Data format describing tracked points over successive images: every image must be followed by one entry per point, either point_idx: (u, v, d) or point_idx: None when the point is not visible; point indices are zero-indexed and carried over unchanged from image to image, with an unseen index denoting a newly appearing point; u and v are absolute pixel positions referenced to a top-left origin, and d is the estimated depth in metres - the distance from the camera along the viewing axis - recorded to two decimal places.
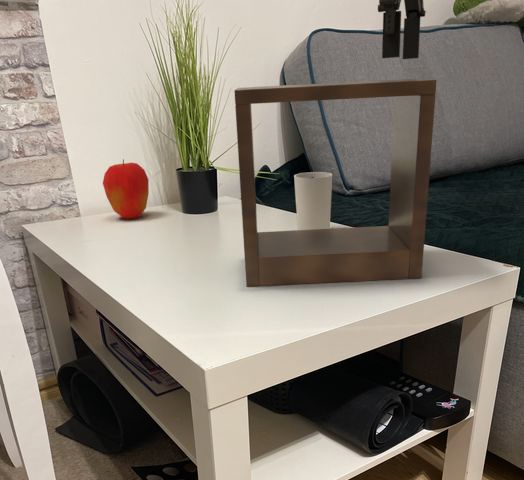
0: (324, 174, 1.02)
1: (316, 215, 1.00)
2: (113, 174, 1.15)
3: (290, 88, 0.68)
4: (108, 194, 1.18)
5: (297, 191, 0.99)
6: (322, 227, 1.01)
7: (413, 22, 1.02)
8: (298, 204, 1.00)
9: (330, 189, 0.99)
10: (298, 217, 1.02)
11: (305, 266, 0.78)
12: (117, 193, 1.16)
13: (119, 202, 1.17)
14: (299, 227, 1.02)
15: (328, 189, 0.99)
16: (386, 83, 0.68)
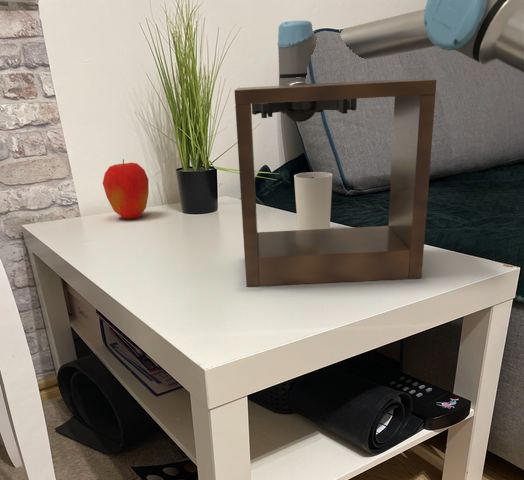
0: (324, 174, 1.02)
1: (316, 215, 1.00)
2: (113, 174, 1.15)
3: (290, 88, 0.68)
4: (108, 194, 1.18)
5: (297, 191, 0.99)
6: (322, 227, 1.01)
7: (338, 102, 1.09)
8: (298, 204, 1.00)
9: (330, 189, 0.99)
10: (298, 217, 1.02)
11: (305, 266, 0.78)
12: (117, 193, 1.16)
13: (119, 202, 1.17)
14: (299, 227, 1.02)
15: (328, 189, 0.99)
16: (386, 83, 0.68)
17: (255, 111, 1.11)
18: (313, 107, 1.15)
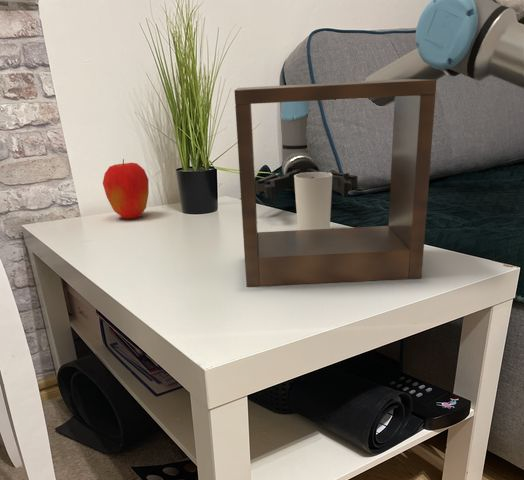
0: (324, 174, 1.02)
1: (316, 215, 1.00)
2: (113, 174, 1.15)
3: (290, 88, 0.68)
4: (108, 194, 1.18)
5: (297, 191, 0.99)
6: (322, 227, 1.01)
7: (340, 183, 1.12)
8: (298, 204, 1.00)
9: (330, 189, 0.99)
10: (298, 217, 1.02)
11: (305, 266, 0.78)
12: (117, 193, 1.16)
13: (119, 202, 1.17)
14: (299, 227, 1.02)
15: (328, 189, 0.99)
16: (386, 83, 0.68)
17: (259, 191, 1.14)
18: None
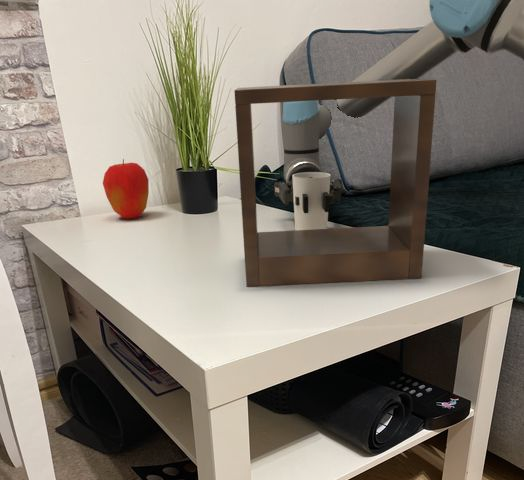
0: (323, 175, 1.02)
1: (312, 215, 1.00)
2: (113, 174, 1.15)
3: (290, 88, 0.68)
4: (108, 194, 1.18)
5: (294, 191, 1.00)
6: (319, 227, 1.01)
7: None
8: None
9: (328, 190, 0.99)
10: (295, 217, 1.02)
11: (305, 266, 0.78)
12: (117, 193, 1.16)
13: (119, 202, 1.17)
14: (296, 227, 1.02)
15: (325, 189, 0.99)
16: (386, 83, 0.68)
17: (289, 201, 1.03)
18: None
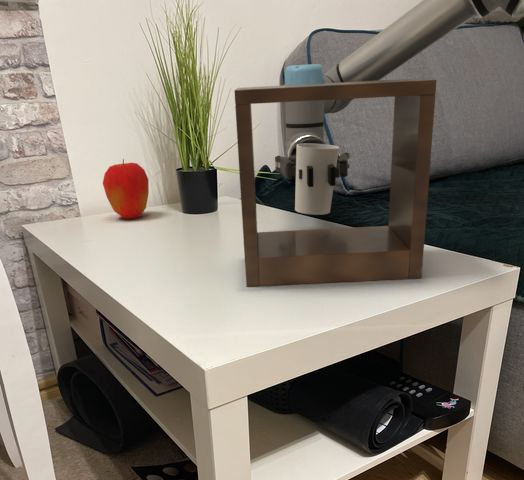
0: (331, 148, 0.91)
1: (315, 191, 0.89)
2: (113, 174, 1.15)
3: (290, 88, 0.68)
4: (108, 194, 1.18)
5: (297, 162, 0.89)
6: (321, 205, 0.91)
7: None
8: (297, 177, 0.90)
9: (334, 164, 0.89)
10: (296, 191, 0.92)
11: (305, 266, 0.78)
12: (117, 193, 1.16)
13: (119, 202, 1.17)
14: (296, 203, 0.92)
15: (332, 163, 0.88)
16: (386, 83, 0.68)
17: (292, 175, 0.93)
18: None
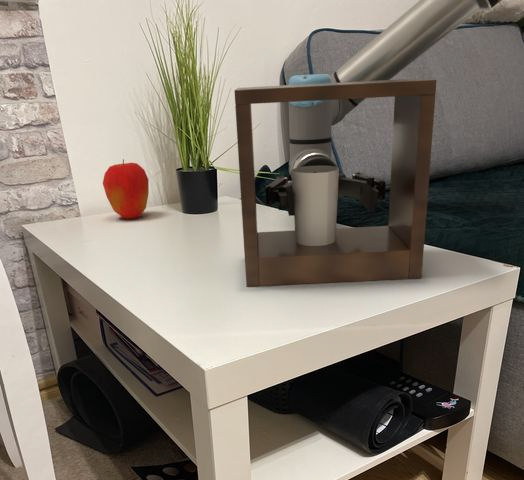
0: (331, 169, 0.81)
1: (316, 220, 0.79)
2: (113, 174, 1.15)
3: (290, 88, 0.68)
4: (108, 194, 1.18)
5: (294, 189, 0.79)
6: (324, 235, 0.80)
7: (362, 191, 0.82)
8: (295, 205, 0.80)
9: (336, 188, 0.79)
10: (295, 222, 0.82)
11: (305, 266, 0.78)
12: (117, 193, 1.16)
13: (119, 202, 1.17)
14: (297, 234, 0.82)
15: (332, 187, 0.78)
16: (386, 83, 0.68)
17: (271, 201, 0.84)
18: None
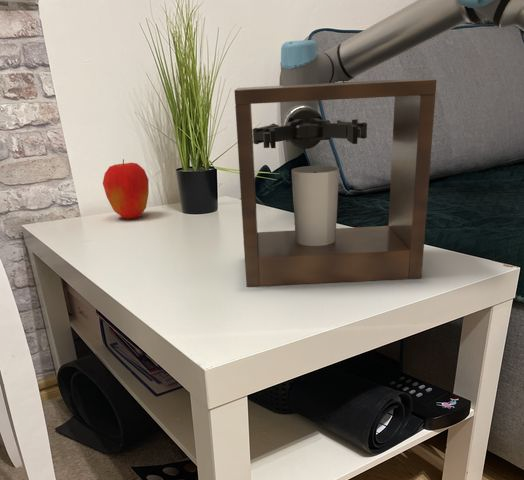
0: (331, 169, 0.81)
1: (316, 220, 0.79)
2: (113, 174, 1.15)
3: (290, 88, 0.68)
4: (108, 194, 1.18)
5: (294, 189, 0.79)
6: (324, 235, 0.80)
7: (347, 130, 1.00)
8: (295, 205, 0.80)
9: (336, 188, 0.79)
10: (295, 221, 0.81)
11: (305, 266, 0.78)
12: (117, 193, 1.16)
13: (119, 202, 1.17)
14: (297, 234, 0.82)
15: (332, 187, 0.78)
16: (386, 83, 0.68)
17: (257, 140, 1.02)
18: (319, 134, 1.07)
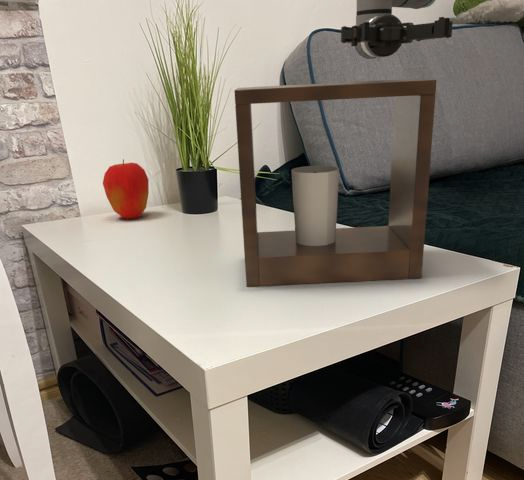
0: (331, 169, 0.81)
1: (316, 220, 0.79)
2: (113, 174, 1.15)
3: (290, 88, 0.68)
4: (108, 194, 1.18)
5: (294, 189, 0.79)
6: (324, 235, 0.80)
7: (435, 27, 1.03)
8: (295, 205, 0.80)
9: (336, 188, 0.79)
10: (295, 221, 0.81)
11: (305, 266, 0.78)
12: (117, 193, 1.16)
13: (119, 202, 1.17)
14: (297, 234, 0.82)
15: (332, 187, 0.78)
16: (386, 83, 0.68)
17: (345, 39, 1.05)
18: (402, 37, 1.09)
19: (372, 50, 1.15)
